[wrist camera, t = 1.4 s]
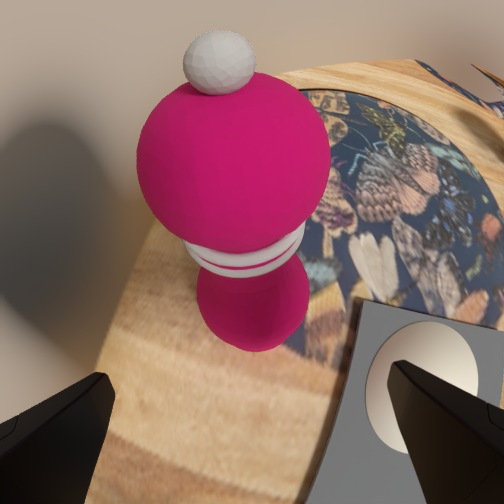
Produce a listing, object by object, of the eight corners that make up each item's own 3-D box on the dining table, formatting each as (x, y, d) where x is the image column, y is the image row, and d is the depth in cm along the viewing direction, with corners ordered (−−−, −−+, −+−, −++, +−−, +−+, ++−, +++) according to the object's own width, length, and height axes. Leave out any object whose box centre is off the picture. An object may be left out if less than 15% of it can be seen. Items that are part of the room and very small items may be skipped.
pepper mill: (203, 283, 24) (97, 39, 7) (287, 262, 25) (302, 0, 7) (221, 368, 21) (18, 176, 3) (314, 343, 21) (450, 92, 4)
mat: (462, 513, 11) (467, 515, 10) (298, 515, 14) (299, 519, 13) (500, 334, 19) (506, 331, 18) (361, 303, 22) (364, 299, 22)
